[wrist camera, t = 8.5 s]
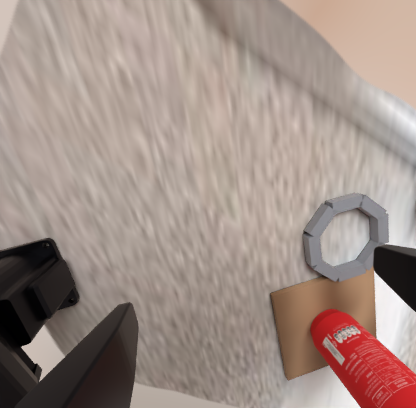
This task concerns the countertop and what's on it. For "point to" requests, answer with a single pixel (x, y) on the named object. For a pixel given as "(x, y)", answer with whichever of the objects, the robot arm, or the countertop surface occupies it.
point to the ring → (322, 220)
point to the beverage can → (363, 362)
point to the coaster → (310, 307)
